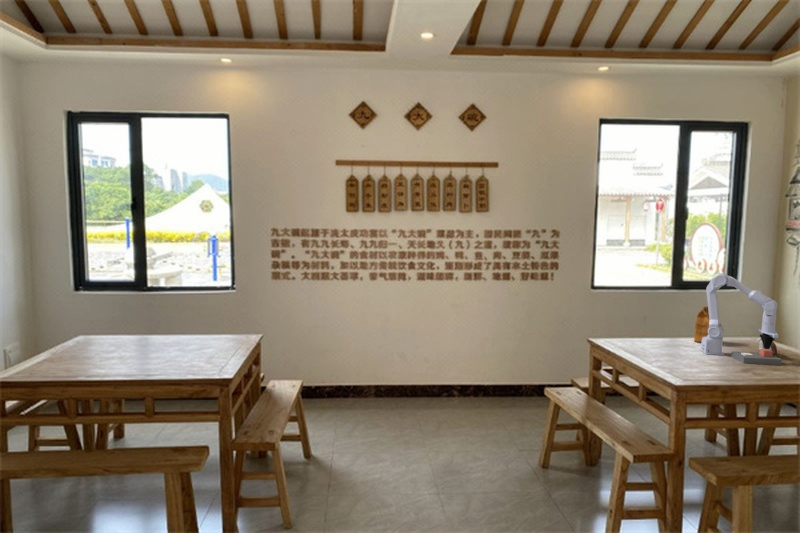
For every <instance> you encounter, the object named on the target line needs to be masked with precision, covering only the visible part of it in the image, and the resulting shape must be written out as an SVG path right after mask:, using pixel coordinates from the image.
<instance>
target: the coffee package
mask: <svg viewBox="0 0 800 533" xmlns="http://www.w3.org/2000/svg"><path fill="white" fill-rule="evenodd" d="M708 329H709V311H708V305H707V306H704V307H702V308H701V309H700V311H699V312H698V313H697V316H696V318H695V326H694V339H693V340H694V342H696V343H701V342H702V338H703V337H707V336H708V335H709V334H708Z"/></svg>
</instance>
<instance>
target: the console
mask: <svg viewBox="0 0 800 533" xmlns="http://www.w3.org/2000/svg"><path fill="white" fill-rule="evenodd" d="M741 353H750V354H752V355H753V356H744V355H742V354H741ZM759 353H760V352H752V351H751V352H749V351H731V358H732V359H735V360H737V361H739V362H741V363H742V364H748V365H749V364H753V365H771V366H782V365H783V359H782V358H780V357H778V356H773V355H772V357H763V356H761V355H759Z"/></svg>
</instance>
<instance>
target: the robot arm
mask: <svg viewBox="0 0 800 533" xmlns="http://www.w3.org/2000/svg"><path fill="white" fill-rule="evenodd" d="M725 285H726V287H734V288H736V289H737V290H739V291H740V292H742V293H744V294H746V296H748V299H749V300H750V301H752V303H755V304H756V305H757V306H759V307H762V308H763V313H762V318H761V319H762V320H761V328H757V332H758V333H761V334H759V338H760V339H762V343H763V348H764V349H769V348H770V346H771V344H772V342H774V341H775V339H779V334H778V332H777V331H776V322H777V308H778V303H777V301H776V300H775V299H772V298H771V296H767V295H765V294H763V292H762V291H761V290H757V289H756V290H752V289H751V288H749V287H748V286H746V285H745V284H743V283H742V282H740V281H739V280H738V279H737V278H735V277H733V276H730V275H728V273H724V272H722V273H718V274H716V275H714V276H713V277H712V278H711V280H710V282H709V283H708V284H707V286H706V288H705V289H706V300H707V306H708V311H709V329H708V334H709V335H708V336H707V337H703V338H702V342H700V352H702V353H704V354H705V355H716V356H717V355H719V356H721V355H722V356H725V355H726V354H725V353H723V351H722V350H723V342H724V341H723V340H724V336H722V334H724V332H725V331H724V330H725V329H724V327H723V326H722V322H721V319H720V310H719V301H718V300H719V299H718V292H717V291H719V289H721V287H723V286H725Z"/></svg>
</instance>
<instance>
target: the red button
mask: <svg viewBox="0 0 800 533" xmlns="http://www.w3.org/2000/svg"><path fill="white" fill-rule="evenodd" d="M758 353H759V355H761V356H763V357H772V353H773V351H771V350H769V349H760V350H759V352H758Z"/></svg>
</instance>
